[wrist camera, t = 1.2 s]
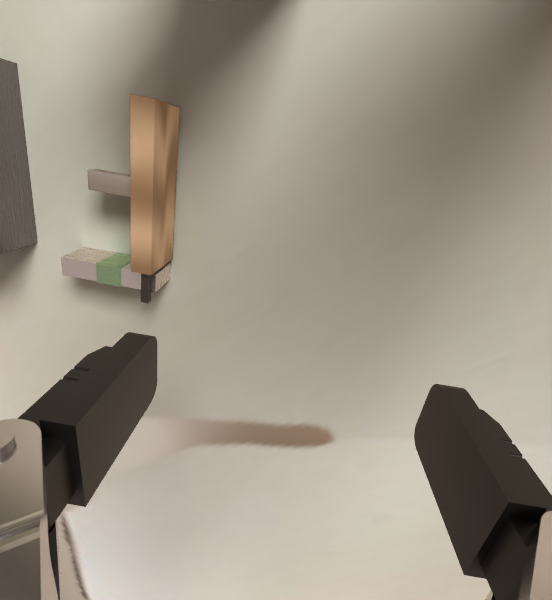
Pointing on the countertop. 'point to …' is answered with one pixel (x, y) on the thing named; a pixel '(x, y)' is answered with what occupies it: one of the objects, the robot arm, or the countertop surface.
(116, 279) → the set of grey blocks
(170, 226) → the tan wooden bar
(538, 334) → the countertop surface
